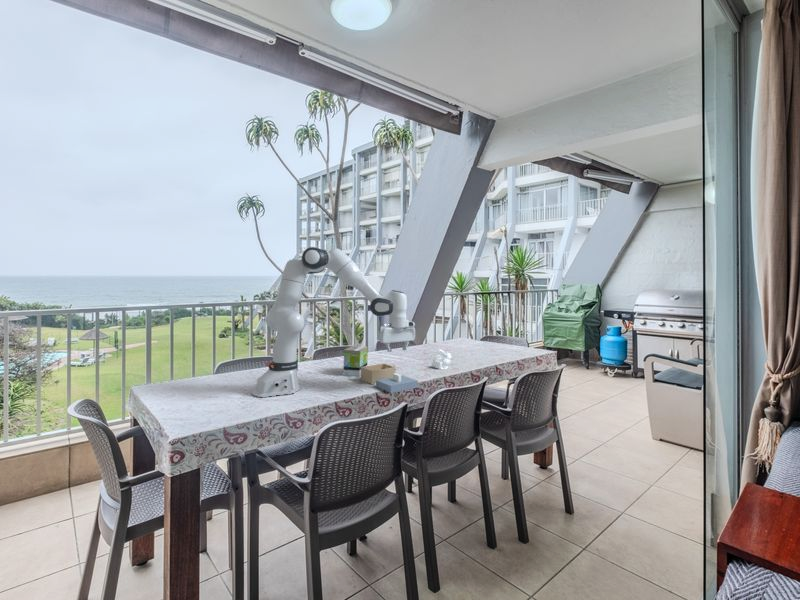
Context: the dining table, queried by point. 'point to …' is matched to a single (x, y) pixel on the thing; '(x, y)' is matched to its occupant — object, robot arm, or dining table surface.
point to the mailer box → (377, 372)
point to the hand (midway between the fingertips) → (397, 350)
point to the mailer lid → (397, 383)
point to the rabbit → (441, 360)
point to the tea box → (355, 360)
